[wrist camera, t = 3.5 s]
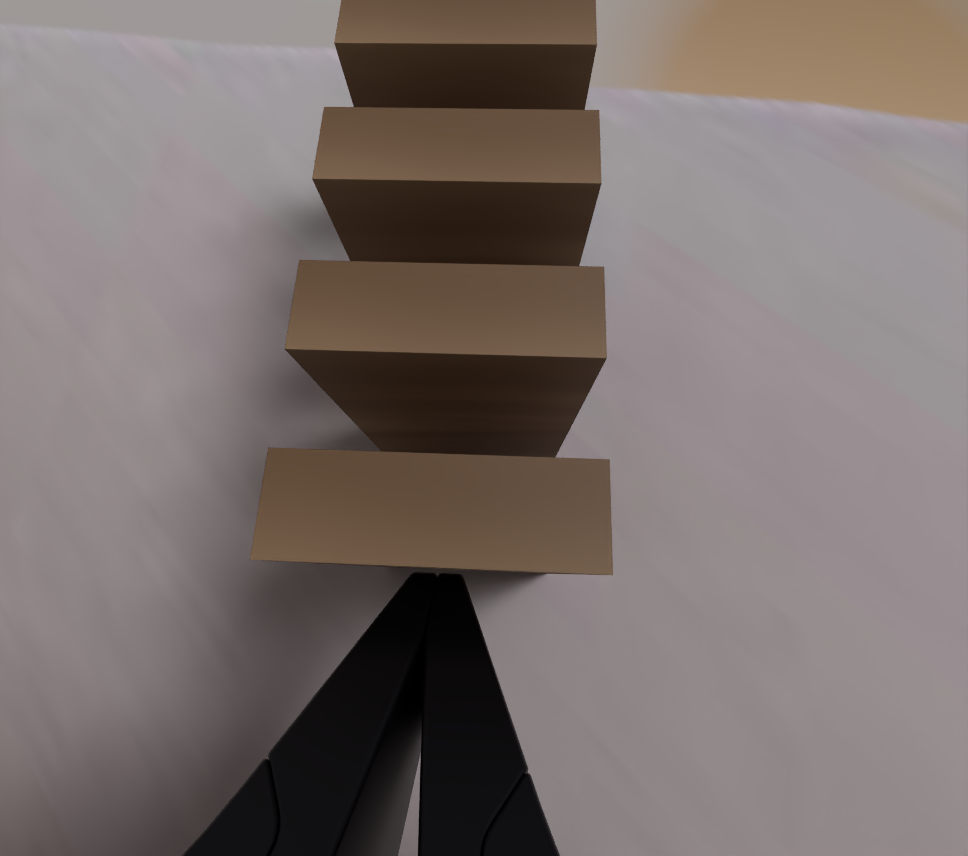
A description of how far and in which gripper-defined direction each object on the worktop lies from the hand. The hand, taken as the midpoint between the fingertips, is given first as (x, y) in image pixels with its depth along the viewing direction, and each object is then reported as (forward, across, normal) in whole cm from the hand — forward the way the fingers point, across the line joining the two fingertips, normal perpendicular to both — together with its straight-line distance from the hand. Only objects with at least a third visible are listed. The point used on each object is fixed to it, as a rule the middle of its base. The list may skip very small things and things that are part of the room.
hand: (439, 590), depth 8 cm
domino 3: (+10, 0, 0) cm, 11 cm away
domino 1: (+6, 0, +4) cm, 7 cm away
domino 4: (+13, 0, -2) cm, 13 cm away
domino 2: (+8, 0, +2) cm, 8 cm away
